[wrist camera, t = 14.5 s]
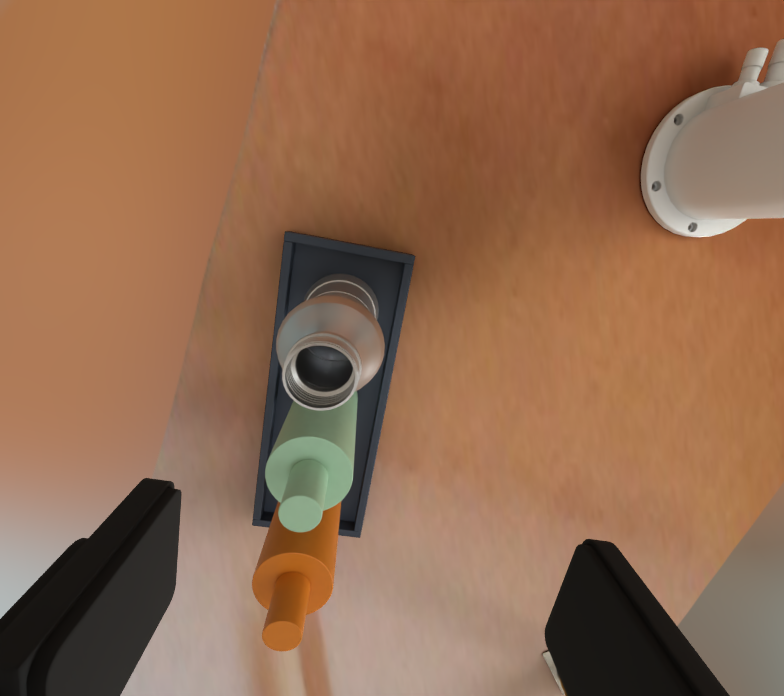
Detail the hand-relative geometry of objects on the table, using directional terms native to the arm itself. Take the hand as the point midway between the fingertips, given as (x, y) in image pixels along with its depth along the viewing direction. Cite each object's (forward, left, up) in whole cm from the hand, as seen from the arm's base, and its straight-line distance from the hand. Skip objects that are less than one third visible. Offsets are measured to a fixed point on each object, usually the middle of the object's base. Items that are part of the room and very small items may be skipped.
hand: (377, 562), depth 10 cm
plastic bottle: (0, -3, -31) cm, 31 cm away
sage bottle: (+10, -3, -31) cm, 33 cm away
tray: (+10, -3, -32) cm, 33 cm away
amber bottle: (+19, -3, -31) cm, 37 cm away
